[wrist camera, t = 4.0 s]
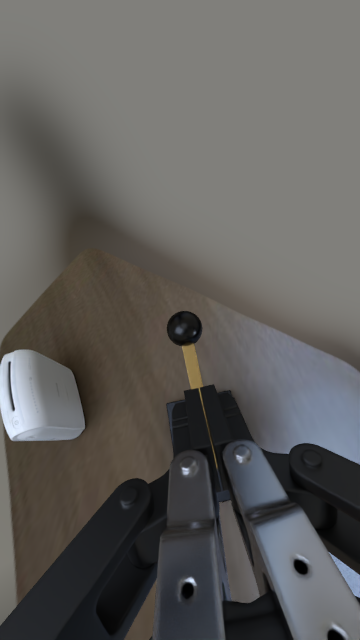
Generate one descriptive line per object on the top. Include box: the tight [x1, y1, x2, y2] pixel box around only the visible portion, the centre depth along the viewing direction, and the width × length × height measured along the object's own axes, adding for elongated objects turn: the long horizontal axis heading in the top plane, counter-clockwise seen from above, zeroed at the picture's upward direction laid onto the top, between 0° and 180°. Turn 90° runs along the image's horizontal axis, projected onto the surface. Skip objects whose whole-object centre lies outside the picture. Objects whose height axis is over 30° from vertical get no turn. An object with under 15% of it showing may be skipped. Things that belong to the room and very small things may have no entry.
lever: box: [167, 311, 218, 469], centre depth 22 cm, size 14×3×3 cm, turn 11°
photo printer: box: [0, 350, 85, 441], centre depth 31 cm, size 10×4×12 cm, turn 23°
